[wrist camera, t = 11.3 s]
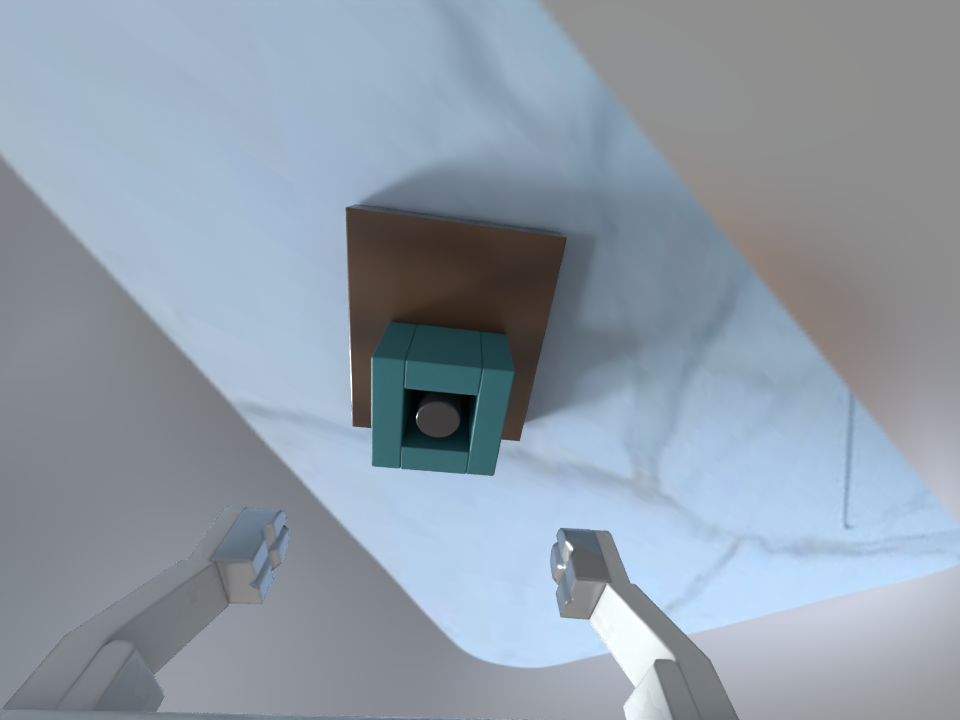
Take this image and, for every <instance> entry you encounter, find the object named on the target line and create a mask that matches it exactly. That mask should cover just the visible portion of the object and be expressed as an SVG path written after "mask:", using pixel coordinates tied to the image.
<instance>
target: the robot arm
mask: <svg viewBox="0 0 960 720" xmlns="http://www.w3.org/2000/svg"><path fill="white" fill-rule="evenodd" d="M285 521H286V513H285V511H283V510H272V509H261V508H250V507H237V506H227V507H226V508H225V509H224V510H222V512H221V513H220V514H219V516H218V517H217V518H216V520H215V521H214V523H213V524H212V525H211V527H210V528H209V530H208V531H207V533H206V534H205V535H204V537H203V538H202V540H201V541H200V542H199V544H198V545H197V546H196V548H195V549H194V551H193V552H192V554H191V555H190V556H189V558H188V559H187V560H180V561H178V562H177V563H175V564H174V565H172V566H171V567H169V568H168V569H166V570H165V571H163V572H162V573H160V574H159V575H157V576H156V577H154V578H152V579H151V580H149V581H148V582H146V583H145V584H143V585H142V586H140V587H139V588H137V589H135V590H134V591H133V592H131V593H129V594H128V595H126V596H125V597H123V598H122V599H120V600H119V601H117V602H116V603H114V604H113V605H111V606H109V607H108V608H106V609H105V610H103V611H102V612H100V613H99V614H97V615H96V616H94V617H93V618H91V619H90V620H88V621H86V622H85V623H83V624H82V625H80V626H79V627H77V628H76V629H74V630H73V631H71V632H69V633H68V634H66V635H65V636H64V637H63V638H62V639H61V640H60V642H59V643H58V644H57V645H56V646H55V648H54V649H53V650H52V651H51V652H50V653H49V654H48V656H47V657H46V658H45V659H44V660H43V661H42V663H41V664H40V665H39V666H38V667H37V669H36V670H35V671H34V672H33V673H32V674H31V675H30V677H29V678H28V679H27V680H26V681H25V682H24V684H23V685H22V686H21V687H20V688H19V689H18V690H17V692H16V693H15V694H14V695H13V696H12V698H11V699H10V700H9V701H8V702H7V703H6V705H5V706H4V707H3V708H2V709H0V720H527V719H482V718H480V719H479V718H432V717H384V716H383V717H381V716H335V715H333V716H332V715H285V714H284V715H283V714H235V713H231V714H230V713H184V712H156V711H157V709H158V707H159V706H160V704H161V702H162V700H163V699H164V692H163V689H162V687H161V686H160V684H159V682H158V681H157V679H156V677H155V676H154V674H155V673H156V672H158V671H159V670H160V669H161V668H162V667H163V666H164V665H165V664H166V663H167V662H168V661H169V660H170V659H172V658H173V657H174V656H175V655H176V654H177V653H178V652H179V651H180V650H181V649H182V648H183V647H184V646H186V645H187V644H188V643H189V642H190V641H191V640H192V639H193V638H194V637H195V636H196V635H197V634H199V633H200V632H201V631H202V630H203V629H204V628H205V627H206V626H207V625H208V624H209V623H210V622H212V621H213V620H214V619H215V618H216V617H217V616H218V615H219V614H220V613H221V612H222V611H223V610H225V609H226V608H227V607H228V605H229V604H262V603H263V601H264V599H265V597H266V595H267V592H268V590H269V588H270V586H271V584H272V582H273V580H274V578H273V573H272V570H274V569H275V568H276V567H277V566H279V565H280V564H281V563H282V561H283V558H284V556H285V554H286V551H287V547H288V543H289V530H288V528H287V527H286V526H285V525H284V523H285ZM556 536H557V541H558V542H557V543H555V544H554V545H553V547H552V550H551V559H550V564H551V572H552V577H553V579H554V580H555V582H556V583H557V584H558V585H559V586H558V589H557V591H556V597H557V602H558V607H559V611H560V616H561V617H562V618H576V619H589V622H590V624H591V625H592V626H593V628H594V629H595V631H596V632H597V634H598V635H599V636H600V638H601V639H602V641H603V642H604V643H605V645H606V646H607V648H608V649H609V651H610V652H611V653H612V655H613V656H614V658H615V659H616V660H617V662H618V663H619V665H620V666H621V668H622V669H623V670H624V672H625V673H626V675H627V676H628V678H629V679H630V680H631V682H632V683H633V685H634V686H635V690H634V691H633V692H632V694H631V695H630V697H629V698H628V700H627V701H626V703H625V704H624V706H623V709H624V712H625V716H626V720H739V718H738V716H737V715H736V712H735V710H734V708H733V706H732V704H731V702H730V700H729V698H728V696H727V694H726V691H725V689H724V688H723V685H722V683H721V681H720V679H719V677H718V675H717V673H716V671H715V669H714V667H713V665H712V663H711V661H710V659H709V658H708V657H707V656H706V655H705V654H704V653H703V652H702V651H701V650H700V649H699V648H698V647H697V646H696V645H695V644H694V643H693V642H692V641H691V640H690V639H689V638H688V637H687V636H686V635H685V634H684V633H683V632H682V631H681V630H680V629H679V628H678V627H677V626H676V625H675V624H674V623H673V622H672V621H671V620H670V619H669V618H668V617H667V616H666V615H665V614H664V613H663V612H662V611H661V610H660V609H659V608H658V607H657V606H656V605H655V604H654V603H653V602H652V601H651V600H650V598H649V597H648V596H647V595H646V594H645V593H644V592H643V591H642V590H641V589H640V588H639V587H638V586H637V585H636V584H630V581H629V579H628V576H627V573H626V571H625V568H624V566H623V563H622V561H621V558H620V556H619V553H618V550H617V548H616V545H615V543H614V540H613V538H612V535H611V534H610V532H609V531H600V530H591V529H570V528H560V529H559V530H558V533H557V535H556ZM528 720H531V719H528Z"/></svg>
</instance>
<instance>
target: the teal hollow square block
mask: <svg viewBox="0 0 960 720" xmlns="http://www.w3.org/2000/svg"><path fill="white" fill-rule="evenodd" d="M514 374H515V371H514V366H513V362H512V358H511V353H510V349H509V345H508V340H507V336H506V335H505V334H497V333H488V332H479V331H472V330H463V329H454V328H446V327H437V326H428V325H419V324H418V325H416V324H409V323H400V322H389V324H388V326H387V328H386V330H385V332H384V334H383V336H382V338H381V340H380V342H379V344H378V345H377V347H376V349H375V351H374V353H373V355H372V357H371V465H372V466H376V467H388V468H400V467H401V469H410V470H423V471H436V472H448V473H461V474H466V473H467V474H476V475H489V476H493V475H494V473H495V468H496V463H497V458H498V453H499V448H500V443H501V438H502V433H503V428H504V423H505V418H506V413H507V409H508V404H509V399H510V394H511V389H512V384H513V379H514ZM413 389H416V390H426V391H436V392H447V393H457V394H467V395H471V397H470V404H469V405H461V414H460V424H459V427H458V428H457V429H456V431H455V432H453V433H452V434H450V435H448V436H445V437H432V436H429V435H427V434H425V433H424V432H422V431H421V430H420V428H419V427H418V425H417V422H416V414H417V410H418V405H419V400H413Z"/></svg>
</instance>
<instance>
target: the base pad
mask: <svg viewBox="0 0 960 720" xmlns="http://www.w3.org/2000/svg"><path fill="white" fill-rule="evenodd" d="M346 233H347V267H348V300H349V334H350V368H351V401H352V426H355V427H366V428H371V357H372V355H373V353H374V351H375V349H376V347H377V345H378V344H379V342H380V340H381V338H382V336H383V334H384V332H385V330H386V328H387V326H388V324H389V322H400V323H409V324H416V325H418V324H419V325H428V326H437V327H446V328H454V329H463V330H472V331H479V332H488V333H497V334H505V335H506V336H507V340H508V345H509V349H510V353H511V358H512V362H513V366H514V371H515V374H514V379H513V384H512V389H511V394H510V399H509V404H508V409H507V413H506V418H505V423H504V428H503V433H502V438H501V439H502V440H513V441H520V438H521V433H522V429H523V425H524V420H525V416H526V412H527V407H528V403H529V399H530V394H531V390H532V386H533V381H534V377H535V373H536V369H537V364H538V360H539V356H540V351H541V347H542V343H543V338H544V334H545V330H546V325H547V321H548V317H549V312H550V308H551V304H552V300H553V295H554V291H555V287H556V282H557V278H558V274H559V269H560V265H561V261H562V256H563V252H564V248H565V243H566V237H564V236H563V235H562V234H560V233H557V232H550V231H543V230H535V229H528V228H521V227H514V226H507V225H499V224H492V223H485V222H478V221H471V220H463V219H456V218H449V217H442V216H435V215H427V214H420V213H413V212H406V211H399V210H391V209H384V208H377V207H370V206H363V205H353V206H349V207H346ZM470 397H471V395H467V394H457V393H447V392H436V391H426V390H416V389H413V400H419V405H418V410H417V414H416V422H417V425H418V427H419V428H420V430H421V431H422V432H424V433H425V434H427V435H429V436H432V437H445V436H448V435H450V434H452V433H453V432H455V431H456V429H457V428H458V427H459V424H460V414H461V405H469V404H470Z"/></svg>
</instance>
